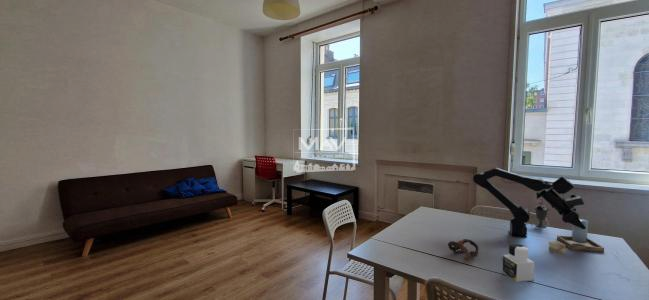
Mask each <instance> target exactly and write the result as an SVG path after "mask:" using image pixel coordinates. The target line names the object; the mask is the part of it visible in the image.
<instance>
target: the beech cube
mask: <svg viewBox="0 0 649 300" xmlns="http://www.w3.org/2000/svg"><path fill="white" fill-rule="evenodd" d="M566 247H567V246H566V245H565V244H563V243H561V242H560V241H558V240H555V241H554V240H549V241H548V250H549V251H551V252H552V253H554V254H557V255H558V254H563V255H564V254H566Z"/></svg>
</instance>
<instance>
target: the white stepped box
mask: <svg viewBox="0 0 649 300" xmlns="http://www.w3.org/2000/svg"><path fill="white" fill-rule="evenodd" d="M529 252H530V250H529V248H528V247H527V246H526V245H524V244H520V243H510V244H509V245H508V254H503V255H502V273H503V274H505V275H506V276H507V277H509V278H510V279H511V280H513V281H514V282H517V283H518V282H519V283H520V282H532V281H534V280H535V262H534V261H533V260H531V259H530V258H529Z"/></svg>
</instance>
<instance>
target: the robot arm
mask: <svg viewBox="0 0 649 300" xmlns="http://www.w3.org/2000/svg"><path fill="white" fill-rule="evenodd" d="M472 177H473V178H472V181H473V183H475V184H476V185H478V186H479V187H480V188H483V189H485V190H486V191H488V192H489V193H490V194H491V195H492V196H494V197H495V198H496V199H497V200H498V201H499V202H500V203H501V204H502V205H504V206H505V207H506V208H507V209H508V210H509V211H510V213H511V214H512V216H511V219H510V222H509V230H508V231H507V232H508V233H509V234H510V235H511V236H512V237H519V238H528V236H527V235H528V227H527V224H526V223H527V222H529V221H530V218H531V212H530V211H529V208H527V207H525V205H524V204H523V203H520V204H518V203H516V202H514V201H513V200H512V199H511V198H510V197H508V196H507V195H506V194H505V193H504V192H502V190H501V189H499V188H498V187H497V186H496V185H495V184H493V182H492V181H491V178H494V177H499V178H502V179H505V180H508V181H511V182H515V183H518V184H521V185H523V186H525V187H526V188H528V189H531V190H532V191H535V192H536V199H537V200H538V199H540V198H542V200H544V201H546V203H548V204H549V206H550V207H551V208H552V209H554V210H555V211H557V214H559V215H560V216H561V220H562V221H563V222H564V223H565V224H567V223H568V224H570V225H572V226H573V225H575V226H577V227H579V228H582V229H586V227H585V226H584V225H583V223H582V222H581V221H580V220H579V219H581V218H580V217H579V216H580V214H579V213H578V211H577V208H575V207H577V206H583V205H585V202H584V200H583V199H582V197H581V195H576V194H575V193H571V194H570V195H569V197H567V198H564V197H562V196H560V195H565V194H567V193H568V192H570V191H571V190H572V191H573V190H574V189H575V188H576V186H575V185H574V184H573V183H572V182H571V181H570V180H568V179H567V178H565V177H564V176H562V175H561V176H560V177H559V178H558V179H556V180H555V181H553V182H552V181H546V180H544V179H542V178H540V177H534V176H527V175H522V174H521V175H520V174H518V173H515V172H512V171H508V170H504V169H501V168H499V167H493V168H491V169H489V170H486V171H484V172H481V171H479V172H477V173H475V174H474V175H473V176H472Z"/></svg>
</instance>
